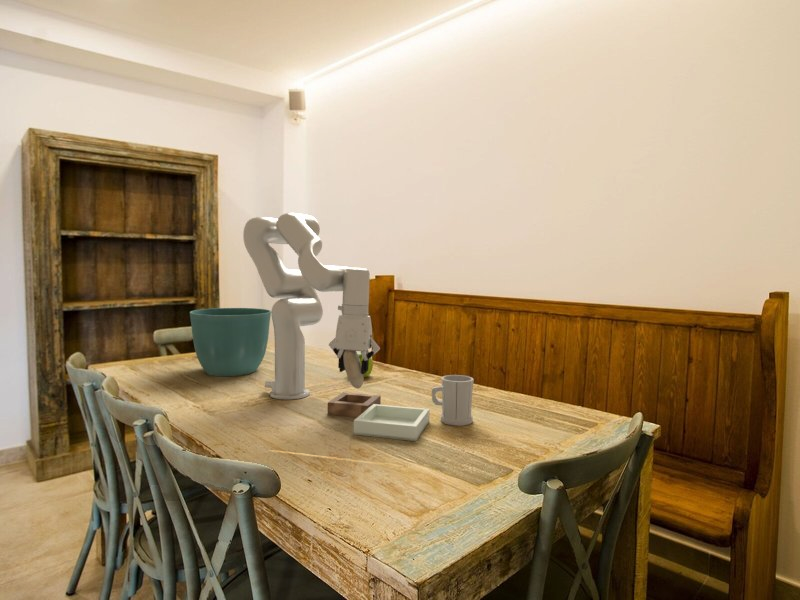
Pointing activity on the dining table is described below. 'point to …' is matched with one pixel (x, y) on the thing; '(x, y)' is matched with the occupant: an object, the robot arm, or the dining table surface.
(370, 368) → the fruit
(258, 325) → the flower pot
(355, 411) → the pocket frame
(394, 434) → the tray
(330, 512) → the dining table surface
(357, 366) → the stone
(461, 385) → the cup
